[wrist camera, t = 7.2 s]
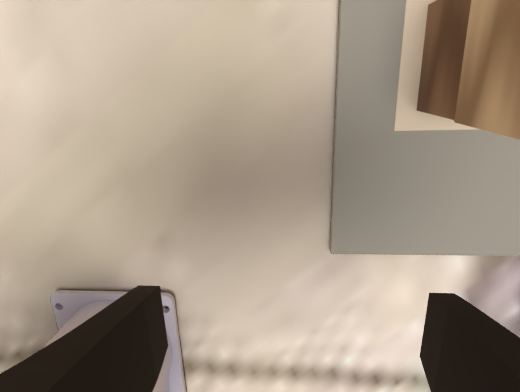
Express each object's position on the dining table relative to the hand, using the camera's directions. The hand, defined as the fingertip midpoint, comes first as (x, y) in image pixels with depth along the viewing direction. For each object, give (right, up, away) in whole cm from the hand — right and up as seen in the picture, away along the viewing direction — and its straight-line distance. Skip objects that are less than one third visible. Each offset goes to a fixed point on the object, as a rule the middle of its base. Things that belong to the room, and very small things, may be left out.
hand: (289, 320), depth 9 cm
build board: (+8, +7, +8) cm, 14 cm away
